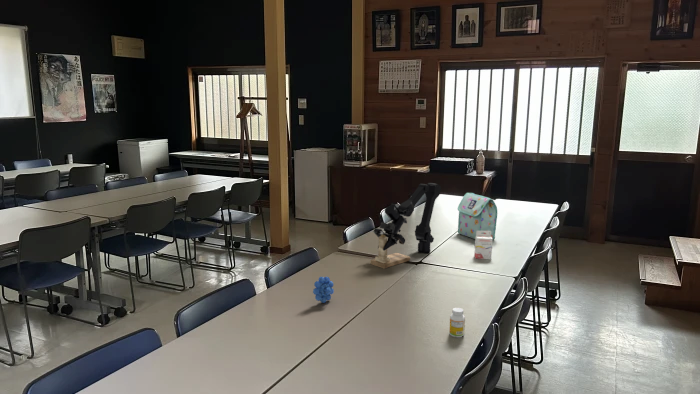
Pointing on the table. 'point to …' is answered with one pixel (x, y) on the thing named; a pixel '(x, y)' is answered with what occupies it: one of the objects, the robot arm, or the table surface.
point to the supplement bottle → (457, 322)
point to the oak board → (392, 260)
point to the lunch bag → (476, 215)
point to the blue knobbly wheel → (323, 289)
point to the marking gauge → (382, 253)
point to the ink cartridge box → (483, 245)
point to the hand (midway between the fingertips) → (381, 249)
